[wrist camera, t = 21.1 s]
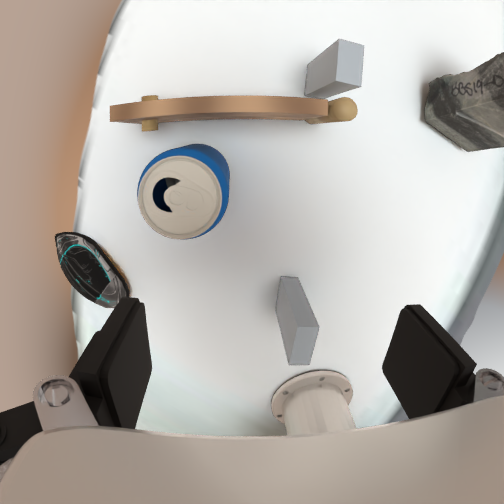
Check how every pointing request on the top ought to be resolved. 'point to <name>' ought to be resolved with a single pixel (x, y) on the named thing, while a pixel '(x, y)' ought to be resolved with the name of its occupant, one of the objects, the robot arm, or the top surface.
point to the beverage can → (184, 191)
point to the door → (232, 109)
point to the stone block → (470, 106)
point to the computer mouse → (90, 269)
